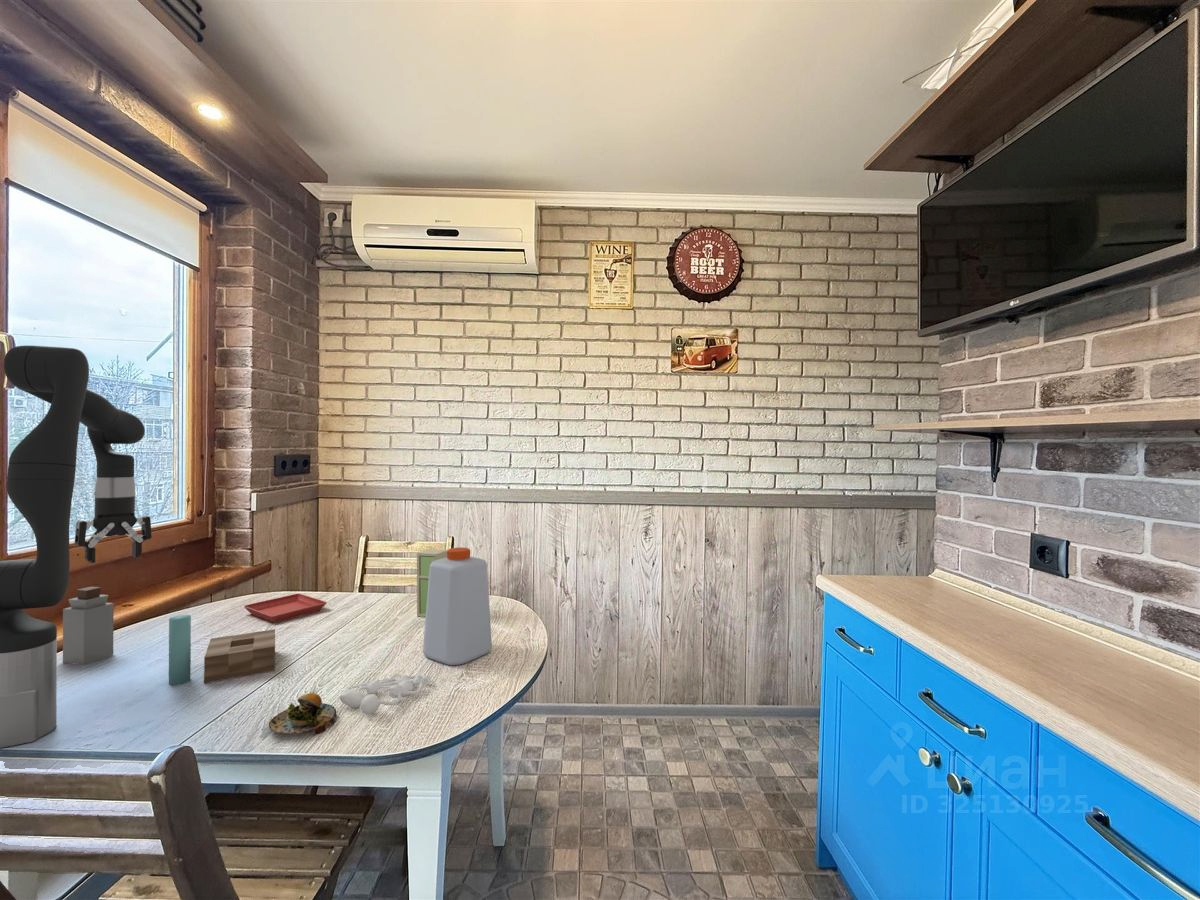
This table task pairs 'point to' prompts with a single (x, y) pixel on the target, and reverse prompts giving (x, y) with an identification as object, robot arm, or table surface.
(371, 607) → the table surface
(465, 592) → the plastic bottle
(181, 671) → the pin
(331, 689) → the table surface
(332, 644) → the table surface
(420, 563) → the toy refrigerator
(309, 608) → the plant saucer
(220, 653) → the bore block
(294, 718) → the burger
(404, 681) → the tangled rod sculpture
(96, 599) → the perfume bottle
